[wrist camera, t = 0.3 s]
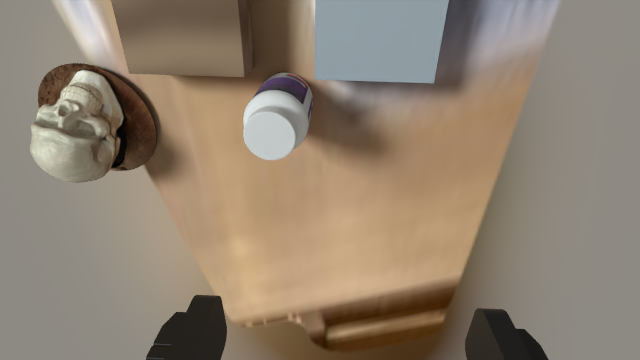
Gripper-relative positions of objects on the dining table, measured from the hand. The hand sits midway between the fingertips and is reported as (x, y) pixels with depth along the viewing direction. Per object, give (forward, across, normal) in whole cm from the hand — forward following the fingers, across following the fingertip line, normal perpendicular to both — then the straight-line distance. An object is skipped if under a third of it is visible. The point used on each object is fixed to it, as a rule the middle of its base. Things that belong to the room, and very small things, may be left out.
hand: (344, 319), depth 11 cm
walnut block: (+26, +13, -8) cm, 30 cm away
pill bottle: (+26, +5, 0) cm, 27 cm away
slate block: (+26, -3, -7) cm, 27 cm away
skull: (+26, +25, +3) cm, 37 cm away
